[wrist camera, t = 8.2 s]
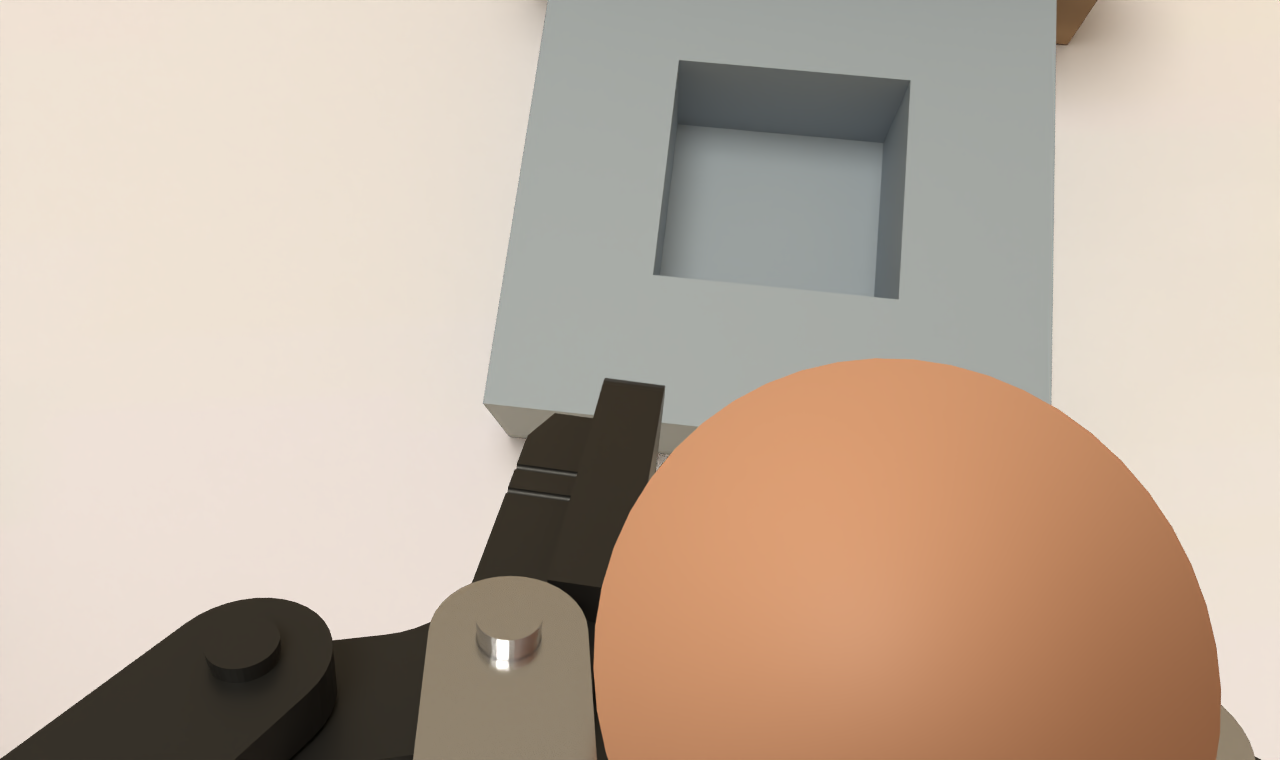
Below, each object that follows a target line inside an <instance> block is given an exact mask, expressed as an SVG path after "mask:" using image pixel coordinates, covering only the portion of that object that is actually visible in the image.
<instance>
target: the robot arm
mask: <svg viewBox="0 0 1280 760" xmlns="http://www.w3.org/2000/svg"><path fill="white" fill-rule="evenodd" d="M664 396H665V385H657V384H650V383H642V382H634V381H627V380H619V379H612V378H605V379H604V381H603V384H602V388H601V391H600V395H599V399H598V402H597V406H596V409H595V413H594V416H593V418H588V417H581V416H573V415H566V414H558V413H554V414H553V415H552V416H551V417H549V418H548V419H547V420H546V421H545V422H543V423H542V424H541V425H540V426H538V427H537V428H536V429H535V430H534V431H532V432H531V433H530V434H529V435H528V436H527V439H526V441H525V444H524V447H523V449H522V452H521V455H520V457H519V460H518V463H517V468H516V469H515V471H514V473H513V476H512V478H511V481H510V484H509V486H508V492H507V493H506V494H505V497H504V500H503V502H502V505H501V508H500V510H499V513H498V515H497V518H496V521H495V523H494V526H493V529H492V531H491V534H490V537H489V539H488V542H487V545H486V547H485V550H484V552H483V555H482V558H481V560H480V563H479V566H478V568H477V571H476V574H475V576H474V579H473V581H472V583H471V584H469V585H467V586H465V587H462V588H461V589H459V590H457V591H456V592H454V593H453V594H451V595H450V596H449V597H448V598H447V599H446V600H445V601H443V602H442V604H441V605H440V606H439V608H438V609H437V610H436V612H435V614H434V616H433V618H432V620H431V622H430V623H427V624H425V625H422V626H420V627H417V628H414V629H411V630H407V631H404V632H399V633H393V634H387V635H379V636H370V637H361V638H352V639H342V640H333V641H332V637H331V633H330V630H329V628H328V627H327V625H326V623H325V622H324V620H323V619H322V618H321V617H320V616H319V615H318V614H317V613H315V612H314V611H312V610H311V609H309V608H308V607H306V606H303V605H301V604H298V603H296V602H292V601H288V600H284V599H276V598H252V599H245V600H239V601H235V602H231V603H226V604H224V605H221V606H218V607H215V608H212V609H210V610H208V611H206V612H204V613H202V614H200V615H198V616H196V617H195V618H193V619H192V620H190V621H189V622H187V623H186V624H184V625H183V626H181V627H180V628H179V629H177V630H176V631H175V632H173V633H172V634H170V635H169V636H168V637H166V638H165V639H164V640H162V641H161V642H160V643H158V644H157V645H155V646H154V647H153V648H151V649H150V650H149V651H147V652H146V653H145V654H143V655H142V656H140V657H139V658H138V659H136V660H135V661H134V662H132V663H131V664H129V665H128V666H127V667H125V668H124V669H123V670H121V671H120V672H119V673H117V674H116V675H114V676H113V677H112V678H110V679H109V680H108V681H106V682H105V683H104V684H102V685H101V686H99V687H98V688H97V689H95V690H94V691H93V692H91V693H90V694H89V695H87V696H86V697H84V698H83V699H82V700H80V701H79V702H78V703H76V704H75V705H73V706H72V707H71V708H69V709H68V710H67V711H65V712H64V713H63V714H61V715H60V716H58V717H57V718H56V719H54V720H53V721H52V722H50V723H49V724H48V725H46V726H45V727H43V728H42V729H41V730H39V731H38V732H37V733H35V734H34V735H32V736H31V737H30V738H28V739H27V740H26V741H24V742H23V743H22V744H20V745H19V746H17V747H16V748H15V749H13V750H12V751H11V752H9V753H8V754H7V755H5V756H4V757H2V758H1V759H0V760H608V757H607V754H606V751H605V746H604V741H603V736H602V732H601V727H600V722H599V717H598V713H597V704H596V692H595V680H594V668H593V667H594V643H595V625H596V619H597V613H598V607H599V601H600V595H601V589H602V585H603V581H604V578H605V575H606V571H607V568H608V565H609V562H610V558H611V555H612V552H613V549H614V546H615V544H616V542H617V539H618V537H619V535H620V533H621V531H622V528H623V526H624V524H625V522H626V520H627V517H628V515H629V513H630V511H631V509H632V508H633V506H634V504H635V503H636V501H637V500H638V498H639V496H640V495H641V493H642V492H643V490H644V488H645V487H646V485H647V484H648V482H649V480H650V479H651V477H652V476H653V475H654V474H655V473H656V466H657V457H658V448H659V440H660V431H661V423H662V414H663V406H664ZM1216 760H1261V759H1259V758H1257V757H1255V756H1254V753H1253V750H1252V747H1251V744H1250V742H1249V740H1248V738H1247V736H1246V734H1245V733H1244V731H1243V729H1242V728H1241V726H1240V725H1239V724H1238V723H1237V721H1236V720H1235V719H1234V717H1233V716H1232V715H1231V714H1230V713H1229V712H1228V711H1227V710H1226V709H1225V708H1224V707H1223V706H1222V705H1221V712H1220V737H1219V743H1218V750H1217V757H1216Z"/></svg>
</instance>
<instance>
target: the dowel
mask: <svg viewBox="0 0 1280 760" xmlns="http://www.w3.org/2000/svg"><path fill="white" fill-rule="evenodd" d="M593 668H594V680H595V692H596V704H597V713H598V717H599V722H600V727H601V732H602V736H603V741H604V746H605V751H606V754H607V757H608V760H1216V757H1217V750H1218V743H1219V737H1220V712H1221V686H1220V677H1219V667H1218V658H1217V649H1216V644H1215V639H1214V635H1213V631H1212V627H1211V623H1210V618H1209V614H1208V610H1207V606H1206V603H1205V600H1204V597H1203V595H1202V592H1201V589H1200V587H1199V584H1198V581H1197V579H1196V576H1195V573H1194V570H1193V568H1192V565H1191V563H1190V561H1189V559H1188V557H1187V555H1186V553H1185V551H1184V549H1183V548H1182V546H1181V544H1180V542H1179V540H1178V538H1177V536H1176V534H1175V532H1174V530H1173V528H1172V526H1171V525H1170V523H1169V522H1168V521H1167V519H1166V518H1165V516H1164V515H1163V513H1162V512H1161V510H1160V509H1159V507H1158V506H1157V504H1156V503H1155V501H1154V500H1153V498H1152V497H1151V495H1150V494H1149V492H1148V491H1147V490H1146V489H1145V488H1144V487H1143V485H1142V484H1141V483H1140V482H1139V481H1138V480H1137V478H1136V477H1135V476H1134V475H1133V474H1132V473H1131V471H1130V470H1129V469H1128V468H1127V467H1126V466H1125V464H1124V463H1123V462H1122V461H1121V460H1120V459H1119V458H1118V457H1117V456H1116V455H1114V454H1113V453H1112V452H1111V451H1110V450H1109V449H1108V448H1107V447H1106V446H1105V445H1104V444H1103V443H1101V442H1100V441H1099V440H1098V439H1097V438H1096V437H1095V436H1094V435H1093V434H1092V433H1090V432H1089V431H1088V430H1086V429H1085V428H1083V427H1082V426H1081V425H1079V424H1078V423H1077V422H1075V421H1074V420H1072V419H1071V418H1070V417H1068V416H1067V415H1066V414H1064V413H1063V412H1061V411H1060V410H1058V409H1057V408H1055V407H1053V406H1051V405H1050V404H1048V403H1046V402H1044V401H1042V400H1041V399H1039V398H1037V397H1035V396H1034V395H1032V394H1030V393H1028V392H1026V391H1025V390H1022V389H1020V388H1017V387H1015V386H1013V385H1010V384H1008V383H1005V382H1003V381H1000V380H998V379H996V378H993V377H991V376H988V375H985V374H981V373H978V372H974V371H971V370H967V369H963V368H960V367H956V366H953V365H947V364H941V363H934V362H928V361H921V360H914V359H882V358H873V359H863V360H853V361H843V362H836V363H831V364H827V365H823V366H819V367H814V368H810V369H806V370H801V371H799V372H796V373H793V374H791V375H788V376H785V377H783V378H780V379H777V380H774V381H772V382H769V383H766V384H764V385H763V386H761V387H759V388H757V389H755V390H753V391H751V392H749V393H748V394H746V395H744V396H742V397H740V398H738V399H736V400H734V401H733V402H731V403H730V404H728V405H727V406H726V407H724V408H723V409H721V410H720V411H719V412H717V413H716V414H714V415H713V416H712V417H710V418H709V419H707V420H706V421H705V422H703V423H702V424H701V425H700V426H699V427H698V428H697V429H696V430H695V431H693V432H692V433H691V434H690V435H689V436H688V437H687V438H686V439H685V440H684V441H683V442H682V443H681V444H680V445H679V446H677V447H676V448H675V449H674V451H673V452H672V453H671V454H670V455H669V457H668V458H667V459H666V460H665V462H664V463H663V464H662V465H661V466H660V468H659V469H658V470H657V471H656V473H655V474H654V475H653V476H652V477H651V479H650V480H649V482H648V484H647V485H646V487H645V488H644V490H643V492H642V493H641V495H640V496H639V498H638V500H637V501H636V503H635V504H634V506H633V508H632V509H631V511H630V513H629V515H628V517H627V520H626V522H625V524H624V526H623V528H622V531H621V533H620V535H619V537H618V539H617V542H616V544H615V546H614V549H613V552H612V555H611V558H610V562H609V565H608V568H607V571H606V575H605V578H604V581H603V585H602V589H601V595H600V601H599V607H598V613H597V619H596V625H595V643H594V667H593Z"/></svg>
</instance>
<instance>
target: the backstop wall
mask: <svg viewBox="0 0 1280 760" xmlns="http://www.w3.org/2000/svg"><path fill="white" fill-rule="evenodd" d="M1096 2H1097V0H1057V7H1056V44H1065V45H1068V43H1069V42H1070V40H1071V39H1072V37H1073V36H1074V34H1075V33H1076V31H1077V30H1078V28H1079V27H1080V25H1081V24H1082V22H1083V21H1084V19H1085V18H1086V16H1087V15H1088V13H1089V12H1090V10H1091V9H1092V7H1093V6H1094V5H1095V3H1096Z"/></svg>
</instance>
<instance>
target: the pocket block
mask: <svg viewBox="0 0 1280 760" xmlns="http://www.w3.org/2000/svg"><path fill="white" fill-rule="evenodd" d="M1056 7H1057V0H548V3H547V9H546V15H545V21H544V28H543V34H542V40H541V46H540V53H539V59H538V65H537V71H536V77H535V84H534V90H533V96H532V102H531V108H530V115H529V121H528V127H527V133H526V139H525V146H524V152H523V158H522V164H521V170H520V177H519V183H518V189H517V195H516V202H515V208H514V214H513V220H512V226H511V233H510V239H509V245H508V251H507V257H506V264H505V270H504V276H503V282H502V288H501V295H500V301H499V307H498V313H497V319H496V326H495V332H494V338H493V344H492V351H491V357H490V363H489V369H488V375H487V382H486V388H485V394H484V400H483V404H484V405H485V406H486V408H487V409H488V410H489V411H490V413H491V414H492V415H493V417H494V418H495V419H496V420H497V422H498V423H499V424H500V425H501V427H502V428H503V429H504V430H505V432H506V433H507V434H508V436H510V437H519V438H527V436H528V435H529V434H530V433H531V432H532V431H534V430H535V429H536V428H537V427H538V426H540V425H541V424H542V423H543V422H545V421H546V420H547V419H548V418H549V417H551V416H552V415H553V414H554V413H558V414H566V415H573V416H581V417H588V418H593V416H594V413H595V409H596V406H597V402H598V399H599V395H600V391H601V388H602V384H603V381H604V379H605V378H612V379H619V380H627V381H634V382H642V383H650V384H657V385H665V396H664V406H663V414H662V423H661V431H660V440H659V448H658V453H663V454H671V453H672V452H673V451H674V449H675V448H676V447H677V446H679V445H680V444H681V443H682V442H683V441H684V440H685V439H686V438H687V437H688V436H689V435H690V434H691V433H692V432H693V431H695V430H696V429H697V428H698V427H699V426H700V425H701V424H702V423H703V422H705V421H706V420H707V419H709V418H710V417H712V416H713V415H714V414H716V413H717V412H719V411H720V410H721V409H723V408H724V407H726V406H727V405H728V404H730V403H731V402H733V401H734V400H736V399H738V398H740V397H742V396H744V395H746V394H748V393H749V392H751V391H753V390H755V389H757V388H759V387H761V386H763V385H764V384H766V383H769V382H772V381H774V380H777V379H780V378H783V377H785V376H788V375H791V374H793V373H796V372H799V371H801V370H806V369H810V368H814V367H819V366H823V365H827V364H831V363H836V362H843V361H853V360H863V359H873V358H882V359H914V360H921V361H928V362H934V363H941V364H947V365H953V366H956V367H960V368H963V369H967V370H971V371H974V372H978V373H981V374H985V375H988V376H991V377H993V378H996V379H998V380H1000V381H1003V382H1005V383H1008V384H1010V385H1013V386H1015V387H1017V388H1020V389H1022V390H1025V391H1026V392H1028V393H1030V394H1032V395H1034V396H1035V397H1037V398H1039V399H1041V400H1042V401H1044V402H1046V403H1048V404H1050V405H1051V388H1052V312H1053V236H1054V159H1055V83H1056Z"/></svg>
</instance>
